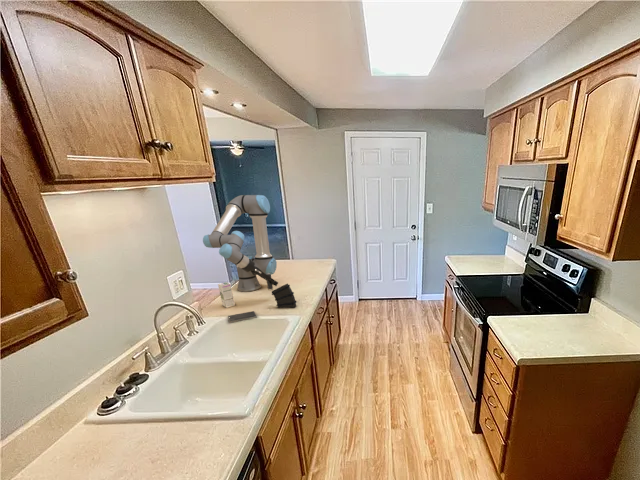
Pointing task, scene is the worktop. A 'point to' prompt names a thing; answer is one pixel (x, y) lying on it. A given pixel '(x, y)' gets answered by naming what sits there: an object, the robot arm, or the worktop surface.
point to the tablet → (242, 316)
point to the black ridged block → (284, 297)
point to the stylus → (269, 284)
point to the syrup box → (226, 294)
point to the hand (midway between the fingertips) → (275, 283)
